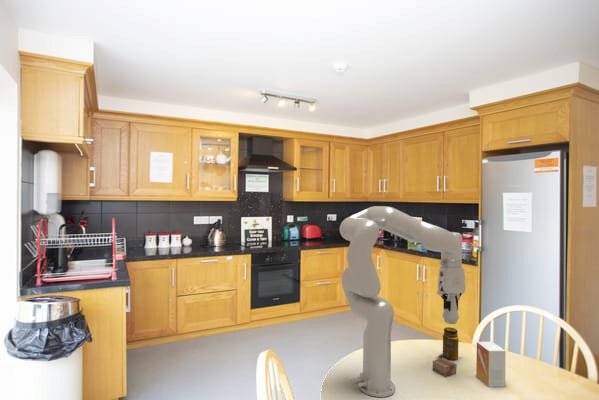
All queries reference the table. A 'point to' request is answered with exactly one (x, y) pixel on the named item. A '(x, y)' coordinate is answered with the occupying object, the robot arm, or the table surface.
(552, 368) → the table surface
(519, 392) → the table surface
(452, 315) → the salt shaker
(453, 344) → the condiment
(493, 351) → the small box
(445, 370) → the walnut block
